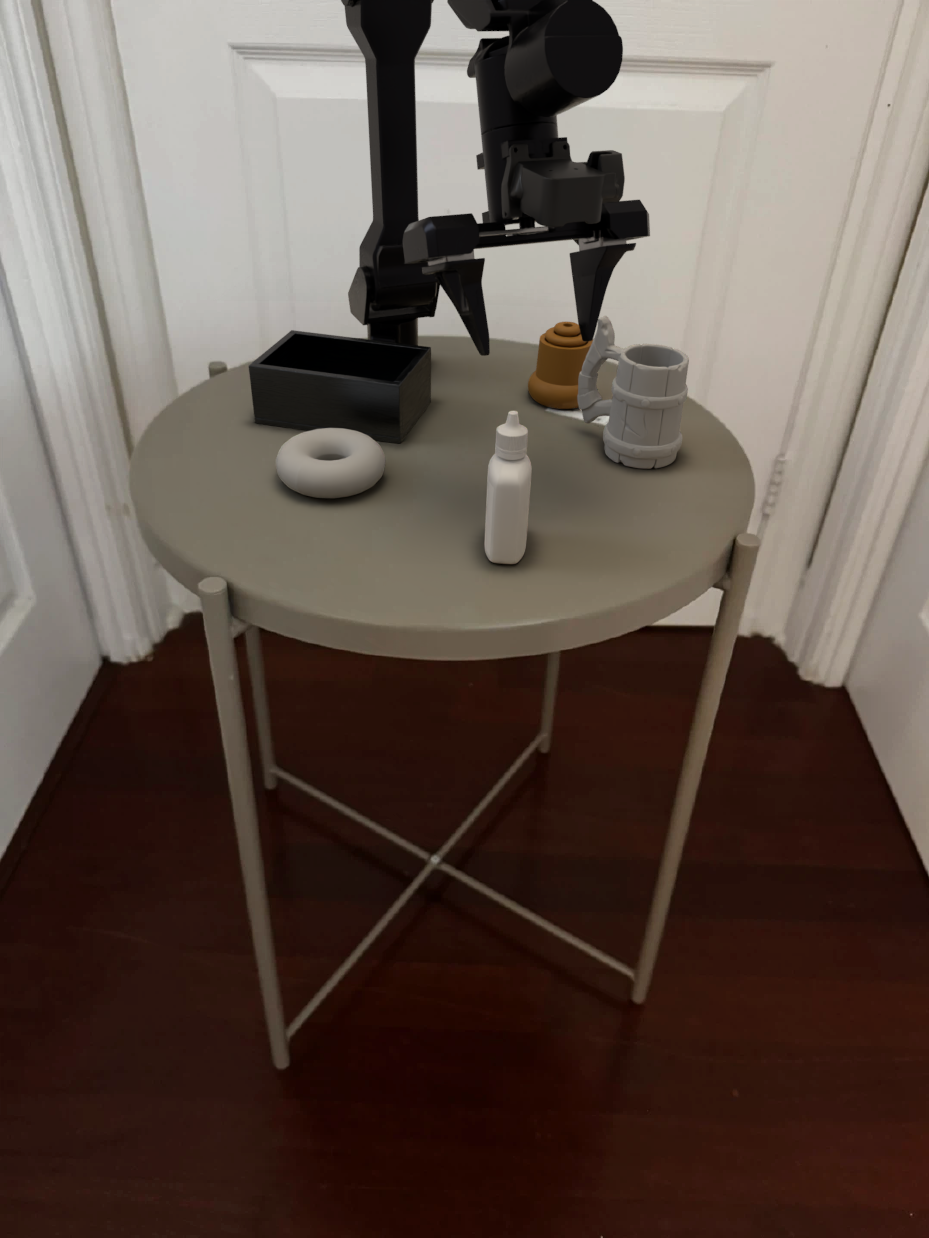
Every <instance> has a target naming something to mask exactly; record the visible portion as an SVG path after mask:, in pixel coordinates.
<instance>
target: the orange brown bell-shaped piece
mask: <svg viewBox="0 0 929 1238" xmlns="http://www.w3.org/2000/svg"><path fill="white" fill-rule="evenodd" d="M538 342H539V343H538V350H537V358H536V367H535V370H534V371H533V372H532V374H530V376H529V379H528V381H527V390H528V393H529V396H530V397H531V398H532V399H533V400H534V401H535V402H536V403H537V404H539V405H540V406H541V405H542V406H543V407H547V408H551V409H555V410H573V409H579V406H578V400H577V395H578V378H579V373H580V372H581V371H582V366H583V363H584V361H585V359H586V355H587V353H588V351H589V349H590V347H591V344H592V342H593V340H592V341H585V342H584V341H583V340H582V336H581V332H580V328H579V324H578V322H577V323H576V322H574V321H573V322H572V321H559V322H557V323H555V324H554V326H553V327H550V328H548V329H546V330H545V332H544V333H542V334H541V335H539V341H538ZM596 388H597V389H598V384H596Z"/></svg>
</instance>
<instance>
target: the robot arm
mask: <svg viewBox="0 0 929 1238" xmlns="http://www.w3.org/2000/svg"><path fill="white" fill-rule="evenodd" d="M434 1H435V0H340V2H341V4H342V5H343V6H344V15H345V24H346V27H347V30H348V31H349V32H350V34H351V36H352V38H353V40H354V41H355V43H356V45H357V47H358V49H359V50H360V52H361V54H362V56H363V58H364V63H365V81H366V82H365V83H366V101H367V102H366V103H367V122H368V124H367V125H368V143H369V162H370V163H369V165H370V181H371V182H370V183H371V184H370V185H371V203H372V204H371V206H372V221H371V223H370V224H369V227H368V229H367V231H366V233H365V234H364V237H363V239H362V241H361V243H360V245H359V249H358V252H359V255H358V257H359V259H358V260H359V262H358V263H359V266H358V267H357V268H356V271H355V274H354V276H353V279H352V281H351V284H350V286H349V289H348V292H347V298H348V303H349V304H348V305H349V311H350V314H351V315H352V316H353V317H354V318H355V319H356V320H357V321H358V322H359V323H360V324H361V325H362V326H366V332H367V333H366V335H367V339H368V340H376V341H384V342H393V343H401V344H409V345H417V346H419V319H421V318H435V316H436V312H437V311H436V310H437V306H438V300H439V295H440V288H442V290H443V292H444V293H445V294H446V296H447V297H448V299H449V300H450V302H451V303H452V305H453V306H454V308H455V310H456V312H457V314H458V316H459V317H460V320H461V322H462V323H463V325H464V327H465V329H466V331H467V333H468V336H470V339H471V340H472V342H473V344H474V346H475V348H476V350H477V352H478V353H479V356H481V357H483V356H484V357H486V356H489V355H490V354H491V352H490V351H491V349H490V348H491V347H490V330H489V324H488V318H487V317H488V316H487V311H486V304H485V298H484V297H485V296H484V290H483V276H484V275H483V274H484V268H485V262H486V258H485V257H479V258H476V257H475V250H480V249H491V248H500V247H512V246H522V245H523V246H524V245H533V244H543V243H544V244H545V243H553V242H565V241H574V243H575V244H576V245H577V246H578V250H577V251H573V252H569V259H570V260H569V261H570V268H571V269H570V271H571V277H572V285H573V286H572V287H573V292H574V293H573V294H574V302H575V308H576V317H577V324H578V325H579V328H580V332H581V336H582V340H583V341H584V342H585V341H592V340H593V339H594V338H595V335H596V331H597V327H598V319H599V318H600V315H601V311H602V308H603V307H602V306H603V304H604V299H605V296H606V293H607V289H608V286H609V283H610V280H611V277H612V275H613V272H614V270H615V268H616V266H617V265H618V263H619V262H620V260H621V259H622V258H623V256H624V255H625V254H626V253H628V252H632V251H635V249H636V246H637V243H636V242H631V243H630V242H629V243H627V242H628V241H632V240H637V239H643V238H648V237H651V224H650V213H649V211H648V210H647V209H646V207H645V205H644V203H643V202H642V201H641V199H631V200H630V199H629V200H622V198H623V196H624V189H625V188H624V187H625V183H626V182H625V181H626V180H625V179H626V178H625V177H626V176H625V169H624V168H625V167H624V160H623V153H621V152H619V151H616V150H613V149H608V150H606V149H605V150H595V151H594V150H592V151H591V152H590V153H589V155H588V158H587V159H586V161H577V162H576V161H573V160H572V155H571V145H570V144H569V142H568V137H567V136H564V137H561V136H560V137H559V127H558V116H559V115H561V114H563V113H565V112H567V111H569V110H571V109H573V108H575V107H578V106H580V105H582V104H584V103H587V102H588V101H590V100H592V99H595V98H597V97H599V96H601V95H602V94H603V93H605V92H606V91H608V90H609V89H610V88H611V87H612V86H613V84H614V83H615V82H616V80H617V79H618V76H619V73H620V72H621V68H622V64H623V54H624V46H623V45H624V44H623V38H622V37H621V35H620V34H619V31H618V27H617V25H616V22H615V21H614V20H613V18H612V16H611V14H610V13H609V12H608V11H607V10H606V9H605V8H604V7H603V6H602V5H600V4H599V3H598V2H597V1H594V0H446V1H447V2H446V3H447V4H448V6H449V7H450V9H451V10H452V11H453V13H454V14H455V16H456V17H457V18H458V20H459V21H460V22H461V24H462V25H463V26H464V28H466V29H469V30H476V31H477V32H508V35H504V36H502V37H483V38H482V37H481V38H480V39H479V43H478V46H477V49H476V51H475V53H474V54H473V56H472V57H471V58H470V59H469V61H468V65H467V69H466V76H467V77H468V78H469V79H475V85H476V97H477V104H478V105H477V106H478V117H479V126H480V137H481V148H482V152H481V153H478V154H476V155H475V156H476V157H475V158H476V168H477V170H479V171H480V170H484V181H485V191H486V201H487V210H486V211H484V212H481V218H482V219H481V220H482V222H477V220H476V218H475V216H474V214H473V213H459V214H448V215H447V214H445V215H433V216H428V217H427V216H426V217H425V218H422V219H420V220H419V186H418V185H419V184H418V183H419V182H418V181H419V179H418V151H417V150H418V149H417V148H418V143H417V141H418V140H417V104H416V102H417V101H416V98H417V97H416V58H417V55H418V53H419V52H420V49H421V48H422V46H423V43H424V42H425V39H426V37H427V35H428V34H429V31H430V29H431V27H432V10H433V9H432V8H433V4H434ZM536 224H538V225H539V226H536ZM511 225H518V227H519V228H511V229H506V226H511Z"/></svg>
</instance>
